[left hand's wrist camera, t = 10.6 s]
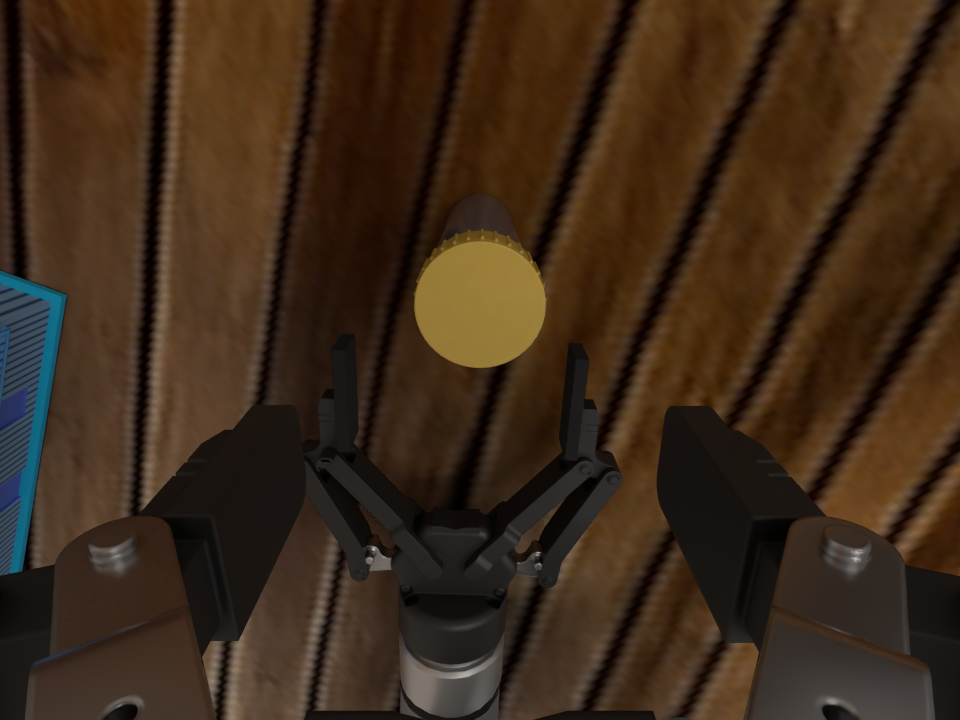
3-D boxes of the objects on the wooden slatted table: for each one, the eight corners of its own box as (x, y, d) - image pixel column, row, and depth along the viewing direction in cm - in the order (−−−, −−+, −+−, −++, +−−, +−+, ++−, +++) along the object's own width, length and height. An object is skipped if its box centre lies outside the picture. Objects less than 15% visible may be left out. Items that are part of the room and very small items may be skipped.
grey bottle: (520, 251, 38) (551, 342, 21) (457, 269, 38) (440, 371, 22) (503, 185, 36) (522, 229, 20) (438, 204, 37) (404, 263, 20)
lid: (553, 330, 23) (561, 350, 21) (439, 361, 24) (435, 384, 22) (524, 213, 22) (529, 222, 19) (401, 248, 22) (393, 261, 20)
